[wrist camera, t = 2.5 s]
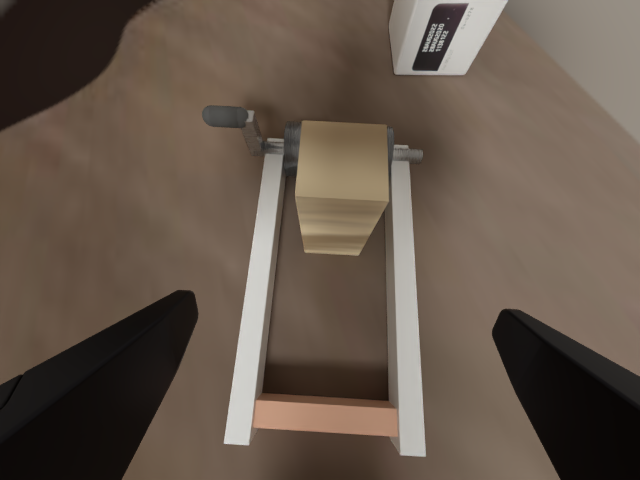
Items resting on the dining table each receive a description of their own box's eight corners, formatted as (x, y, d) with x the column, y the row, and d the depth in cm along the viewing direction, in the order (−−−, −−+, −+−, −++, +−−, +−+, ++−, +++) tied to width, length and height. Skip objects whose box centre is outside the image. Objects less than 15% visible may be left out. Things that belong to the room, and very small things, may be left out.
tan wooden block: (358, 255, 22) (389, 201, 13) (304, 252, 22) (294, 196, 13) (359, 206, 24) (386, 124, 14) (308, 203, 24) (302, 120, 14)
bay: (426, 440, 18) (482, 499, 12) (178, 424, 18) (106, 474, 12) (409, 152, 25) (439, 96, 19) (232, 143, 26) (205, 84, 19)
